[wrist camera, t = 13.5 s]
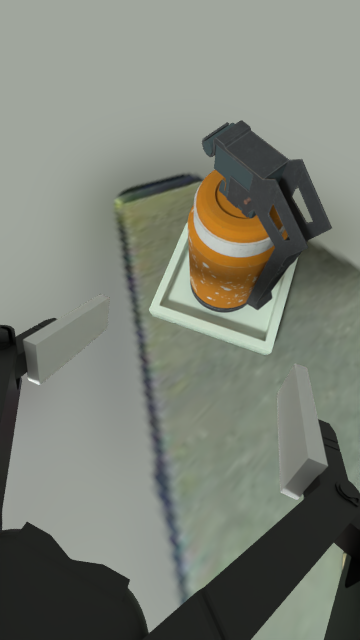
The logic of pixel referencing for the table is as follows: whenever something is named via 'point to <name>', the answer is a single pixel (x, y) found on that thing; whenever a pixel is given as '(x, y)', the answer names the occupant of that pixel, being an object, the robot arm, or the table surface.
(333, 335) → the table surface
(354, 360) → the table surface
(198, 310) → the tray
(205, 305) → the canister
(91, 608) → the robot arm
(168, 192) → the table surface
